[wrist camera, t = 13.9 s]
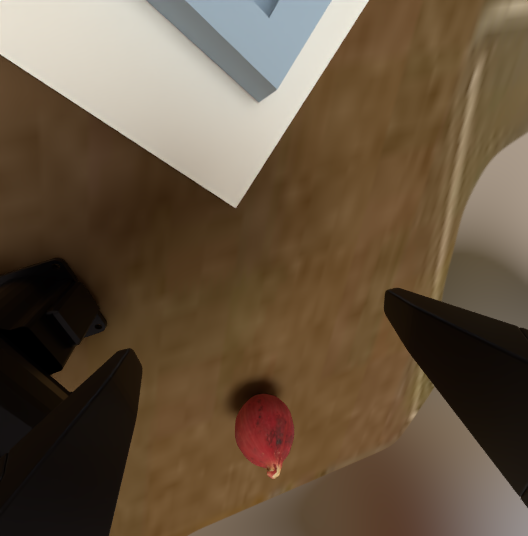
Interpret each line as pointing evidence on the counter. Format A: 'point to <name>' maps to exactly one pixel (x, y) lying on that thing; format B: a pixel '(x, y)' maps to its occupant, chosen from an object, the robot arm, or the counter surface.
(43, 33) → the white base plate
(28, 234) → the counter surface
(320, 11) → the socket block
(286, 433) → the onion
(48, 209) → the counter surface
